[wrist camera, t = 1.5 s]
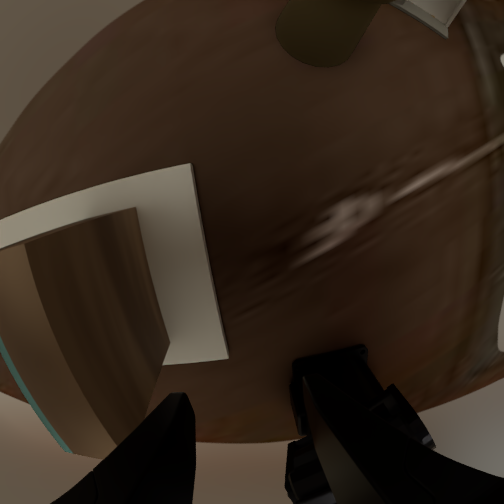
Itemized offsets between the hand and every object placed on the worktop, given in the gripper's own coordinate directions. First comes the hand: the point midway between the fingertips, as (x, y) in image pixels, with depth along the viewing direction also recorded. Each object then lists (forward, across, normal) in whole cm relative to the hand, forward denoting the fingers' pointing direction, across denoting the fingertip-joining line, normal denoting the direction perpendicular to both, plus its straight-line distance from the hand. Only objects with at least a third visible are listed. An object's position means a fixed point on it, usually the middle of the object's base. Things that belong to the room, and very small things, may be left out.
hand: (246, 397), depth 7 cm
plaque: (+12, +8, 0) cm, 14 cm away
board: (+13, +13, 0) cm, 18 cm away
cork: (+13, -8, -16) cm, 22 cm away
